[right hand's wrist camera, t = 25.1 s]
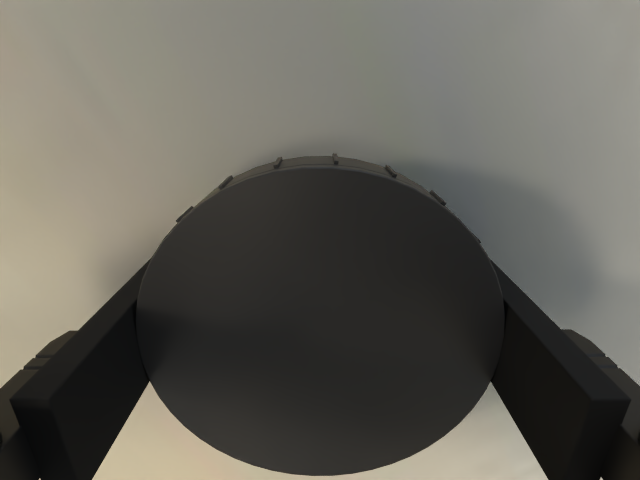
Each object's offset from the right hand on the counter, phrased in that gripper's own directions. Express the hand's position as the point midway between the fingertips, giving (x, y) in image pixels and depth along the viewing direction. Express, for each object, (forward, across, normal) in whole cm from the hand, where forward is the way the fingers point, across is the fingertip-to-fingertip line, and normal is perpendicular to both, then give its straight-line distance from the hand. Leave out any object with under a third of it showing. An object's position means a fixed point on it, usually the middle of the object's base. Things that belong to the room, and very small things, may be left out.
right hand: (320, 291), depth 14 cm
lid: (-3, 0, 0) cm, 3 cm away
